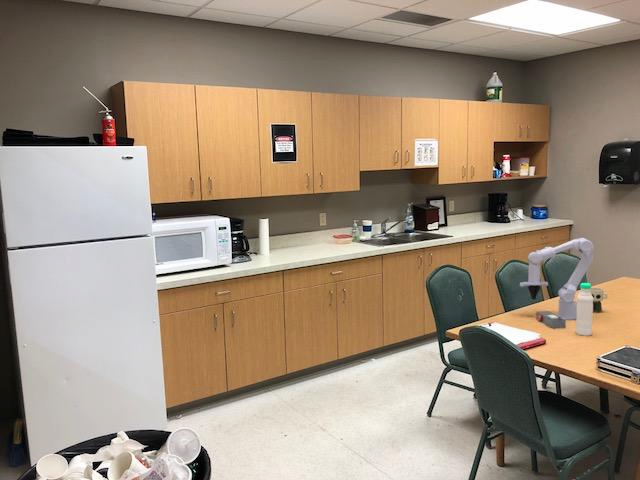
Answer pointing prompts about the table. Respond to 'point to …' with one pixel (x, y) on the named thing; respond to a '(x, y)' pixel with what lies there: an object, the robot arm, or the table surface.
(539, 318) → the pin
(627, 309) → the table surface
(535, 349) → the table surface
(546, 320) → the block
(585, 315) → the water bottle
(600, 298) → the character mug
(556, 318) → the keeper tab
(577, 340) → the table surface
